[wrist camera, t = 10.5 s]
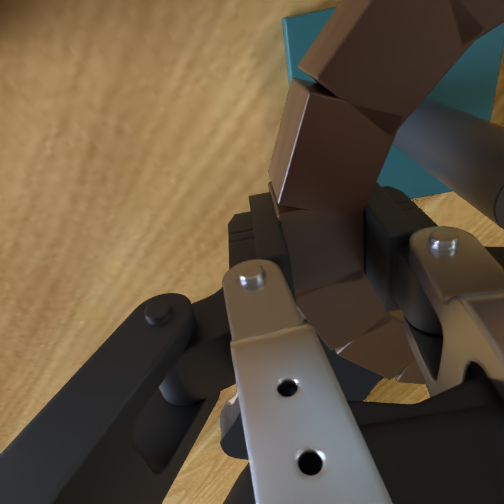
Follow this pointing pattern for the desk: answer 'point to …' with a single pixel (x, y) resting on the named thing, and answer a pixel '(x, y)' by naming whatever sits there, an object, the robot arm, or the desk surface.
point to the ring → (358, 157)
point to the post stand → (437, 124)
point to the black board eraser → (349, 378)
